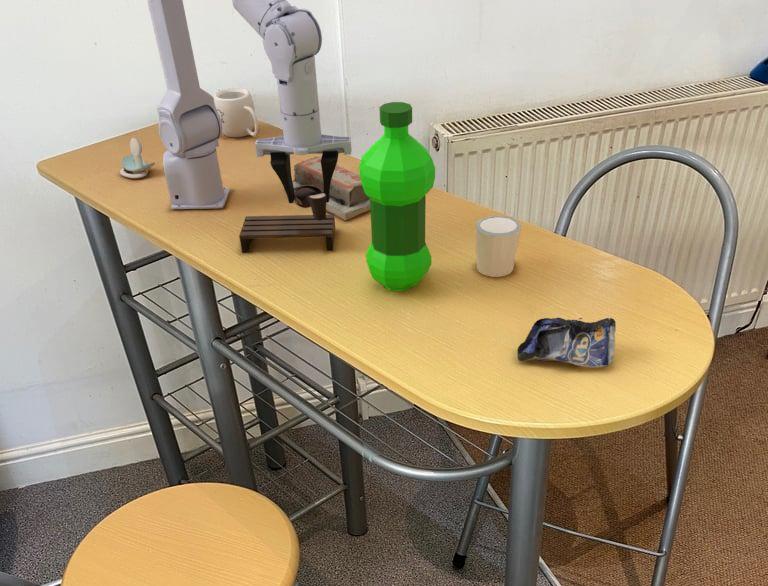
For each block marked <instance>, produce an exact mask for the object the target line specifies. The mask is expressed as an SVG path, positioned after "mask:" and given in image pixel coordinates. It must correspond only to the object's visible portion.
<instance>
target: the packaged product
mask: <svg viewBox="0 0 768 586" xmlns="http://www.w3.org/2000/svg"><path fill="white" fill-rule="evenodd" d="M321 157H322V156H313V157H311V158H309V159H305V160H302V161H300V162H297V163H296V164H294V165H293V171H294V175H293V177H294V178H293V179H294V180H292V182H293V188H296V187H300V186H302V185H313V186H316V187H318V188H320V189H321V191H322V193H324V183H323V174H322V167H321ZM308 189H310V190H312V191H315V190H313V189H311V188H308ZM368 211H370V198H369V197H368V196H367V195H366V194H365V191H364V189H363V186H362V183H361V179H360V174H358V173H355V172H354V171H352V170H350V169H348V168H345V167H344V166H342V165H340V164H338V163H337V164H336V167H335V170H334V173H333V176H332V179H331V184H330V198H329V202H326V212H329V213H331V214H332V215H334V216H337V218H340V219H342V220H344V221H348V220H350V219H352V218H354V217H357V216H359V215H361V214H363V213H365V212H368Z"/></svg>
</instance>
